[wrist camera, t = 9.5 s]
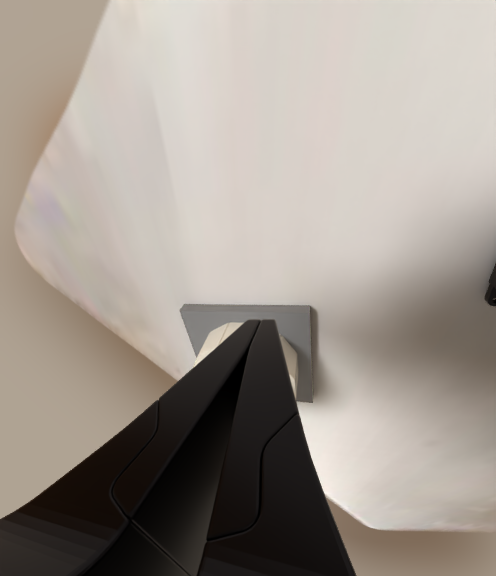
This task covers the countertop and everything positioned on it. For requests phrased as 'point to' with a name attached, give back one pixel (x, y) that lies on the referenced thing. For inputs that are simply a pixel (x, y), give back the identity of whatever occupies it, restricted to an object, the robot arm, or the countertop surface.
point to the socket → (290, 319)
